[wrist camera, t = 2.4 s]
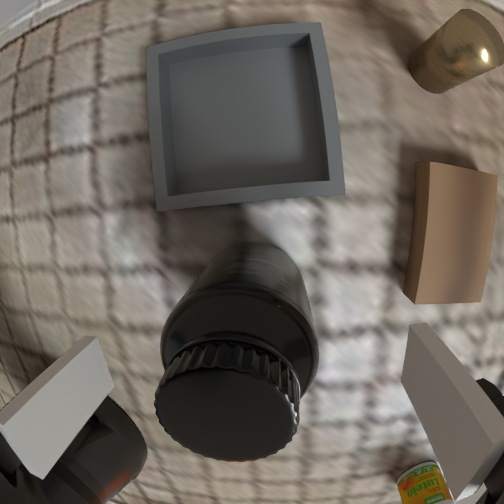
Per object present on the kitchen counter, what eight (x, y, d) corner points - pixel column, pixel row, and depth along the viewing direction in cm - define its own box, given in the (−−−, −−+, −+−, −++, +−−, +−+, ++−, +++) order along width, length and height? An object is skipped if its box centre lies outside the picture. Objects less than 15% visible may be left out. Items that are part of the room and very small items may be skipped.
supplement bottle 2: (433, 454, 23) (459, 516, 13) (439, 470, 24) (462, 526, 14) (391, 476, 24) (408, 541, 14) (401, 490, 25) (417, 547, 15)
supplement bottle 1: (182, 287, 20) (91, 394, 9) (254, 218, 19) (217, 275, 7) (251, 353, 21) (227, 492, 9) (325, 294, 20) (373, 422, 8)
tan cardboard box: (401, 291, 20) (414, 304, 17) (413, 162, 18) (430, 161, 15) (464, 290, 19) (480, 302, 17) (477, 174, 17) (497, 175, 15)
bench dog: (414, 91, 16) (467, 58, 9) (403, 46, 15) (447, 1, 8) (454, 96, 16) (512, 72, 9) (444, 53, 15) (494, 18, 8)
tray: (171, 208, 19) (156, 212, 17) (160, 60, 17) (146, 47, 15) (336, 193, 18) (345, 194, 16) (316, 39, 16) (320, 22, 13)
